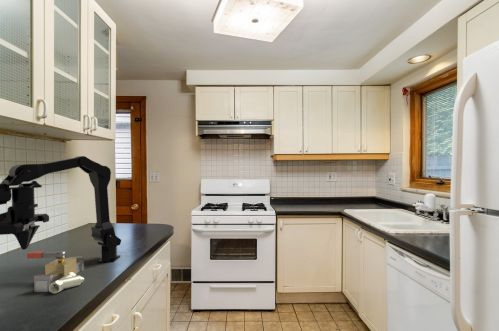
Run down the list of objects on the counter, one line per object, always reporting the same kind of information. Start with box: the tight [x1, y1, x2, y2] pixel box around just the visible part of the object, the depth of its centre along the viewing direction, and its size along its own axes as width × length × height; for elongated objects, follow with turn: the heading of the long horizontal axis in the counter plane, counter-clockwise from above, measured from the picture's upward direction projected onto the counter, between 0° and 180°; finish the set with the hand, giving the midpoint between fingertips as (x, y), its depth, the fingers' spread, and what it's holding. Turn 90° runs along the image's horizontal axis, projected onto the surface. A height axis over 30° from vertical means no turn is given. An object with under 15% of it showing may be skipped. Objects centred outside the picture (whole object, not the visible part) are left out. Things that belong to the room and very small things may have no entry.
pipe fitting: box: [49, 272, 85, 295], centre depth 87 cm, size 8×4×7 cm
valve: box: [33, 256, 85, 293], centre depth 93 cm, size 18×6×8 cm, turn 1°
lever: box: [26, 249, 68, 260], centre depth 93 cm, size 13×3×2 cm, turn 91°
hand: (24, 249), depth 88 cm, fingers closed
